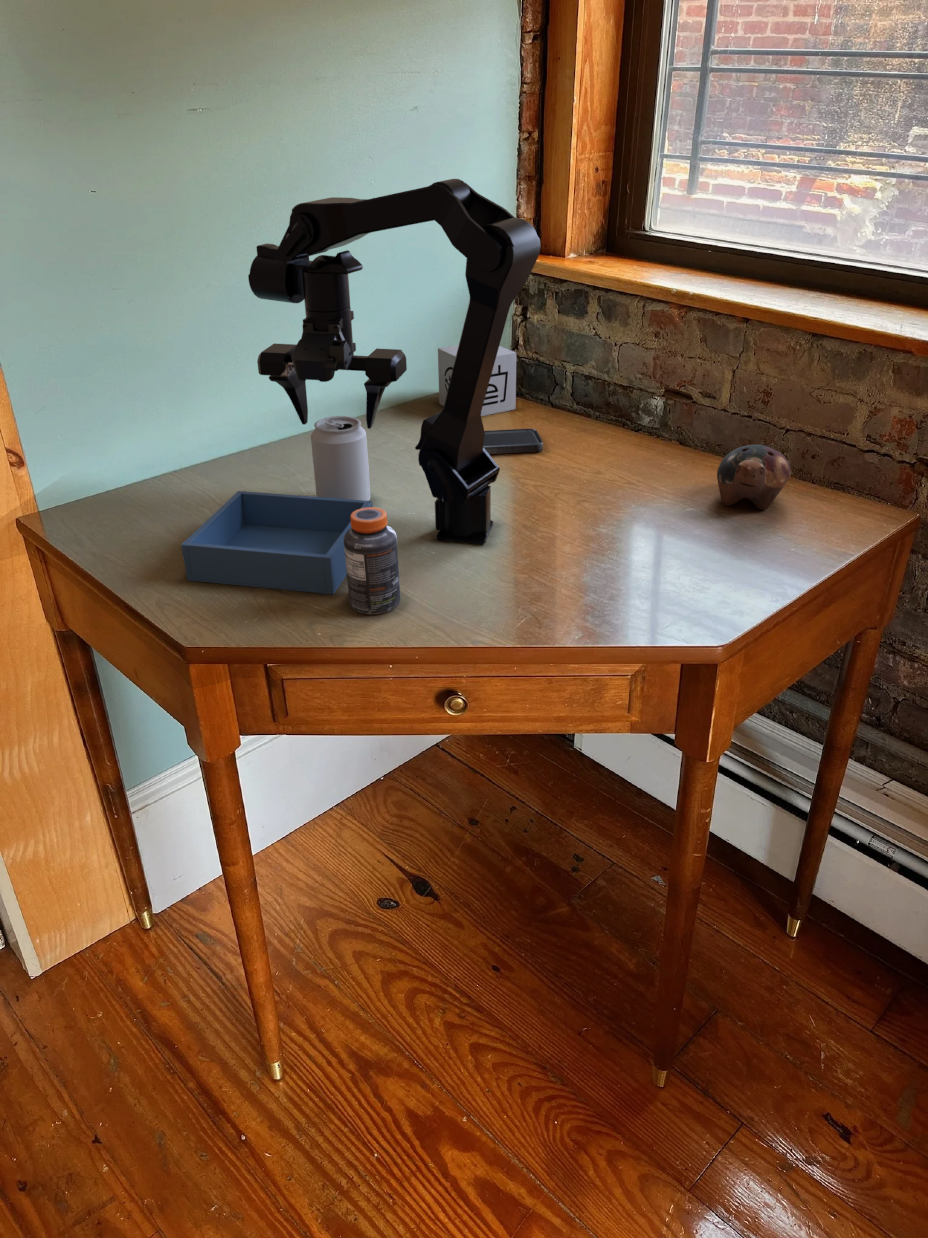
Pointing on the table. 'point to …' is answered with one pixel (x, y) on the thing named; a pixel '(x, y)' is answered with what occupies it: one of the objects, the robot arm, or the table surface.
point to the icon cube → (500, 383)
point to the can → (340, 459)
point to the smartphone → (512, 441)
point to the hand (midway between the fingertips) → (337, 425)
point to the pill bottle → (372, 562)
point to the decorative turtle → (752, 475)
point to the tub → (273, 542)
